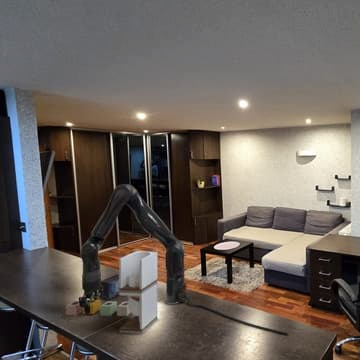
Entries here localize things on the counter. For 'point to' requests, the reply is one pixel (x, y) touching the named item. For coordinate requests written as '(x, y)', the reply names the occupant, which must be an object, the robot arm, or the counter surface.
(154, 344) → the counter surface
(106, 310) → the sage block
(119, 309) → the cream block
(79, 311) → the blush block
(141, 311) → the white shelf unit
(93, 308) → the mustard block
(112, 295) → the small box
